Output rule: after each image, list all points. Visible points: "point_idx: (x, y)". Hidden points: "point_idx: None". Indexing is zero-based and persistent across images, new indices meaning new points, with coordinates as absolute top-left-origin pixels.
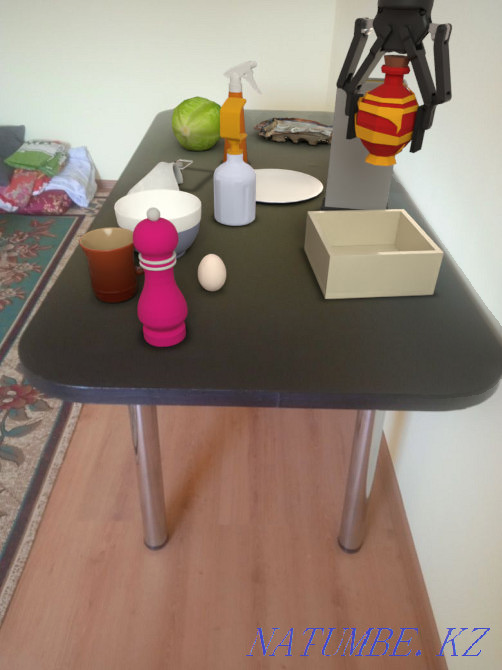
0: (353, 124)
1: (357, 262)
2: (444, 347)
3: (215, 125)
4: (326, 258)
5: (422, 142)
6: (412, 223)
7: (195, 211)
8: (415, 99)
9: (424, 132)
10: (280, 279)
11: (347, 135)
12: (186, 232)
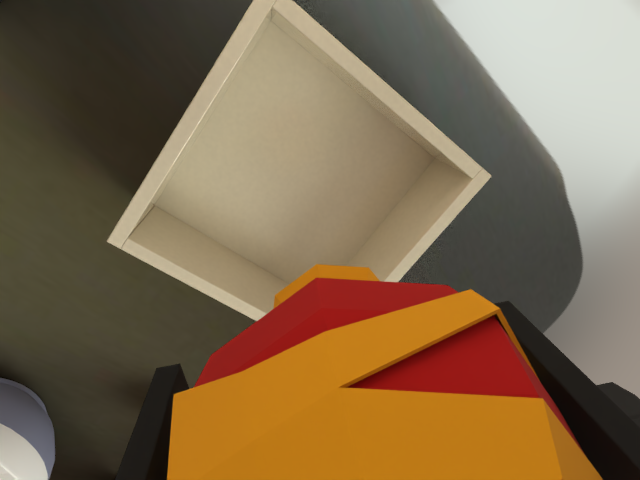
0: None
1: None
2: (514, 270)
3: None
4: None
5: (526, 319)
6: (354, 74)
7: (9, 469)
8: (542, 440)
9: (559, 352)
10: (219, 318)
11: None
12: (44, 455)
